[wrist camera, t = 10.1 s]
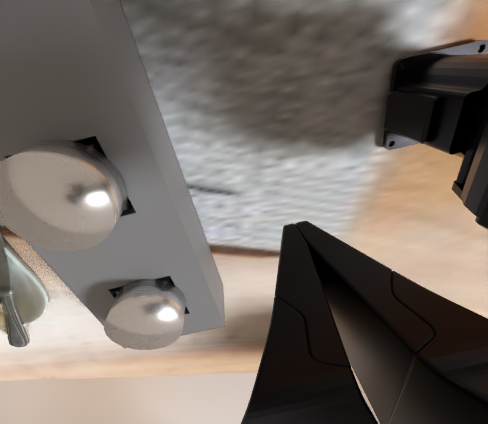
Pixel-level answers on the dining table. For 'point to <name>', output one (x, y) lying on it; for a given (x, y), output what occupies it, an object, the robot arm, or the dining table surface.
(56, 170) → the plunger middle
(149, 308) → the plunger
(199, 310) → the console
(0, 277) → the salad plate
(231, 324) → the dining table surface
